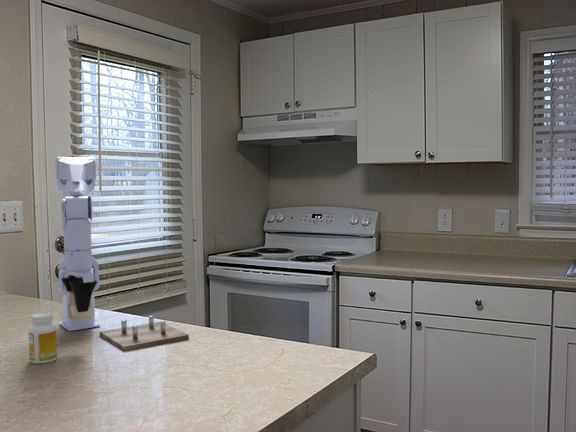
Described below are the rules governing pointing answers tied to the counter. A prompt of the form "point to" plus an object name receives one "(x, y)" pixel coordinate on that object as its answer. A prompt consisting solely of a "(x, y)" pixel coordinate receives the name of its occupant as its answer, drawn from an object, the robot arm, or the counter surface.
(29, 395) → the counter surface
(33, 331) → the supplement bottle
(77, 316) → the block
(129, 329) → the peg board
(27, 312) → the counter surface
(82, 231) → the robot arm
